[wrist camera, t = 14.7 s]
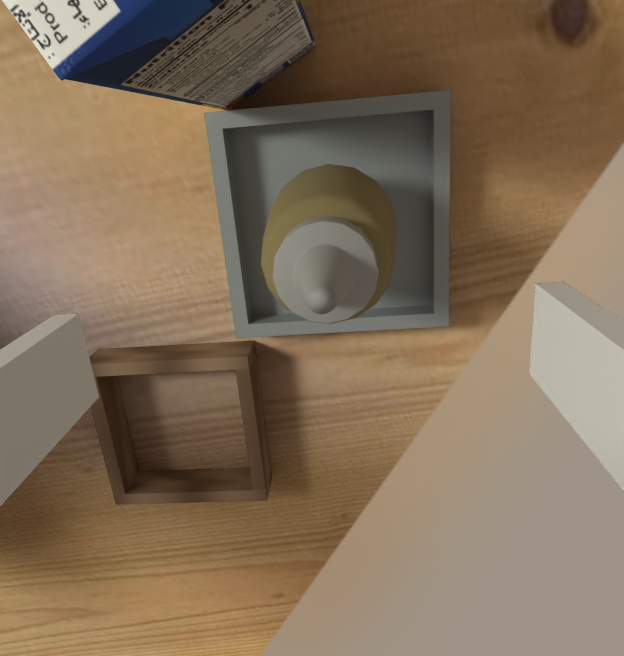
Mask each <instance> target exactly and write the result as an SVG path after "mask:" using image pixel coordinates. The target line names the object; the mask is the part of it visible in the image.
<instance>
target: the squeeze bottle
mask: <svg viewBox="0 0 624 656" xmlns="http://www.w3.org/2000/svg"><path fill="white" fill-rule="evenodd" d="M396 235H397V225H396V221H395V216H394V212H393V207H392V202H391V201H390V200H389V198H388V197H387V195H386V194H385V192H384V191H383V190H382V188H381V187H380V185H379V184H378V183H377V181H376V180H374V179H372V178H371V177H369V176H367V175H366V174H364V173H362V172H361V171H359V170H358V169H356V168H354V167H348V166H340V165H333V164H325V165H322V166H318V167H315V168H311V169H308V170H304V171H302V172H301V173H299V174H298V175H297V176H296V177H294V178H293V179H292V180H291V181H289V182H288V183H287V184H286V185H284V186H283V187H282V189H281V191H280V193H279V194H278V196H277V198H276V200H275V202H274V204H273V206H272V207H271V209H270V213H269V217H268V221H267V225H266V229H265V233H264V237H263V245H262V256H261V267H262V270H263V273H264V277H265V280H266V283H267V286H268V289H269V290H270V291H271V293H272V294H273V295H274V296H275V297H276V299H277V300H278V301H279V302H280V304H281V305H282V306H283V307H284V308H285V309H287V310H288V311H290V312H292V313H294V314H296V315H297V316H299V317H301V318H303V319H304V320H307V321H310V322H317V323H324V324H333V323H337V322H342V321H346V320H350V319H354V318H357V317H358V316H360V315H361V314H362V313H364V312H365V311H367V310H368V309H370V308H371V307H373V306H374V305H375V304H377V302H378V301H379V299H380V298H381V296H382V295H383V293H384V292H385V290H386V288H387V287H388V285H389V284H390V282H391V277H392V272H393V266H394V261H395V253H396Z"/></svg>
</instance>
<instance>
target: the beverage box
mask: <svg viewBox="0 0 624 656" xmlns="http://www.w3.org/2000/svg"><path fill="white" fill-rule="evenodd" d="M2 1H3V2H4V3H5V5H6V6H7V8H8V9H9V10H10V12H11V13H12V14H13V16H14V17H15V18H16V20H17V21H18V23H19V24H20V25H21V27H22V28H23V29H24V31H25V32H26V34H27V35H28V36H29V38H30V39H31V40H32V42H33V43H34V44H35V46H36V47H37V49H38V50H39V51H40V53H41V54H42V55H43V57H44V58H45V60H46V61H47V62H48V64H49V65H50V66H51V68H52V69H53V70H54V72H55V73H56V75H57V76H58V77H59V78H60V79H61V80H64V79H67V80H73V81H78V82H83V83H88V84H93V85H99V86H104V87H109V88H114V89H119V90H125V91H130V92H135V93H140V94H145V95H151V96H156V97H161V98H166V99H171V100H177V101H182V102H187V103H192V104H197V105H203V106H208V107H213V108H218V109H223V110H231V109H232V108H234V107H235V106H236V105H238V104H239V103H240V102H242V101H243V100H244V99H246V98H247V97H248V96H250V95H251V94H252V93H254V92H255V91H256V90H258V89H259V88H260V87H262V86H263V85H264V84H266V83H267V82H268V81H270V80H271V79H272V78H274V77H275V76H276V75H278V74H279V73H280V72H282V71H283V70H284V69H286V68H287V67H289V66H290V65H291V64H293V63H294V62H295V61H297V60H298V59H299V58H301V57H302V56H303V55H305V54H306V53H307V52H309V51H310V50H311V49H313V48H314V47H315V46H316V45H315V42H314V39H313V36H312V33H311V30H310V28H309V25H308V22H307V19H306V16H305V13H304V10H303V8H302V5H301V2H300V0H2Z"/></svg>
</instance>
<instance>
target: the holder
mask: <svg viewBox="0 0 624 656" xmlns="http://www.w3.org/2000/svg"><path fill="white" fill-rule="evenodd" d="M89 358H90V362H91V366H92V370H93V374H94V378H95V382H96V386H97V390H98V394H99V398H98V399H97V400H96V401H95V402H94V403H93V405H92V406H91V409H92V413H93V417H94V421H95V425H96V429H97V433H98V437H99V440H100V444H101V448H102V452H103V456H104V460H105V464H106V468H107V472H108V476H109V479H110V483H111V487H112V491H113V495H114V499H115V503H116V505H117V504H152V503H188V502H224V501H260V500H267V498H268V493H269V489H270V484H271V479H272V473H271V466H270V458H269V450H268V443H267V435H266V427H265V419H264V412H263V404H262V396H261V388H260V381H259V373H258V365H257V357H256V350H255V342H254V341H241V342H222V343H204V344H186V345H167V346H149V347H131V348H113V349H98V350H97V351H96V352H95V353H93V354H92V355H91V356H90V357H89ZM219 370H236V376H237V383H238V390H239V397H240V404H241V411H242V417H243V424H244V431H245V438H246V445H247V452H248V459H249V466H250V468H233V469H203V470H173V471H143V472H139V470H138V465H137V461H136V457H135V452H134V448H133V444H132V439H131V435H130V431H129V427H128V422H127V418H126V414H125V409H124V405H123V401H122V396H121V392H120V388H119V383H118V379H117V376H119V375H139V374H159V373H179V372H199V371H219Z"/></svg>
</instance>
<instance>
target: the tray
mask: <svg viewBox="0 0 624 656" xmlns="http://www.w3.org/2000/svg"><path fill="white" fill-rule="evenodd" d="M204 115H205V122H206V129H207V136H208V143H209V150H210V157H211V164H212V171H213V178H214V185H215V192H216V199H217V206H218V213H219V220H220V227H221V234H222V241H223V249H224V256H225V263H226V270H227V277H228V284H229V291H230V298H231V305H232V312H233V319H234V326H235V333H236V338H246V337H264V336H282V335H300V334H318V333H337V332H355V331H373V330H391V329H409V328H427V327H445V326H449V268H450V135H451V90H443V91H432V92H421V93H411V94H400V95H389V96H379V97H368V98H357V99H347V100H336V101H325V102H314V103H304V104H293V105H282V106H272V107H261V108H250V109H240V110H229V111H218V112H208V113H204ZM325 164H333V165H340V166H348V167H354V168H356V169H358V170H359V171H361V172H362V173H364V174H366V175H367V176H369V177H371V178H372V179H374V180H376V181H377V183H378V184H379V185H380V187H381V188H382V190H383V191H384V192H385V194H386V195H387V197H388V198H389V200H390V201H391V202H392V207H393V212H394V216H395V221H396V225H397V235H396V253H395V261H394V266H393V272H392V277H391V282H390V284H389V285H388V287H387V288H386V290H385V292H384V293H383V295H382V296H381V298H380V299H379V301H378V302H377V304H375V305H374V306H373V307H371V308H370V309H368V310H367V311H365V312H364V313H362V314H361V315H360V316H358V317H357V318H354V319H350V320H346V321H342V322H337V323H333V324H324V323H317V322H310V321H307V320H304V319H303V318H301V317H299V316H297V315H296V314H294V313H292V312H290V311H288V310H287V309H285V308H284V307H283V306H282V305H281V304H280V302H279V301H278V300H277V299H276V297H275V296H274V295H273V294H272V293H271V291H270V290H269V289H268V286H267V283H266V280H265V277H264V273H263V270H262V267H261V256H262V245H263V237H264V233H265V229H266V225H267V221H268V217H269V213H270V209H271V207H272V206H273V204H274V202H275V200H276V198H277V196H278V194H279V193H280V191H281V189H282V187H283V186H284V185H286V184H287V183H288V182H289V181H291V180H292V179H293V178H294V177H296V176H297V175H298V174H299V173H301V172H302V171H304V170H308V169H311V168H315V167H318V166H322V165H325Z"/></svg>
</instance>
